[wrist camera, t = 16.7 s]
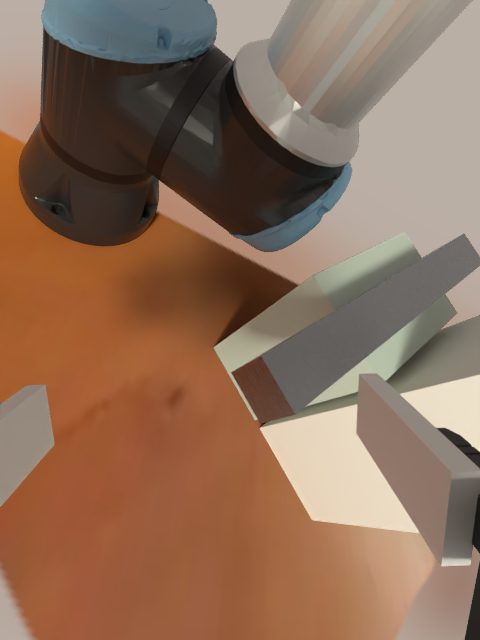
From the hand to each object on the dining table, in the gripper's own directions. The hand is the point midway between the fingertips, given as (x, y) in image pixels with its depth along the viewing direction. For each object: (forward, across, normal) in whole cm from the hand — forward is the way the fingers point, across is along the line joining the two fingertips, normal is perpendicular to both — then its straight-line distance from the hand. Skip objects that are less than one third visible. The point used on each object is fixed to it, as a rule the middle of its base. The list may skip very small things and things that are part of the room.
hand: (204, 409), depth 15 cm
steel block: (+16, +13, +1) cm, 20 cm away
